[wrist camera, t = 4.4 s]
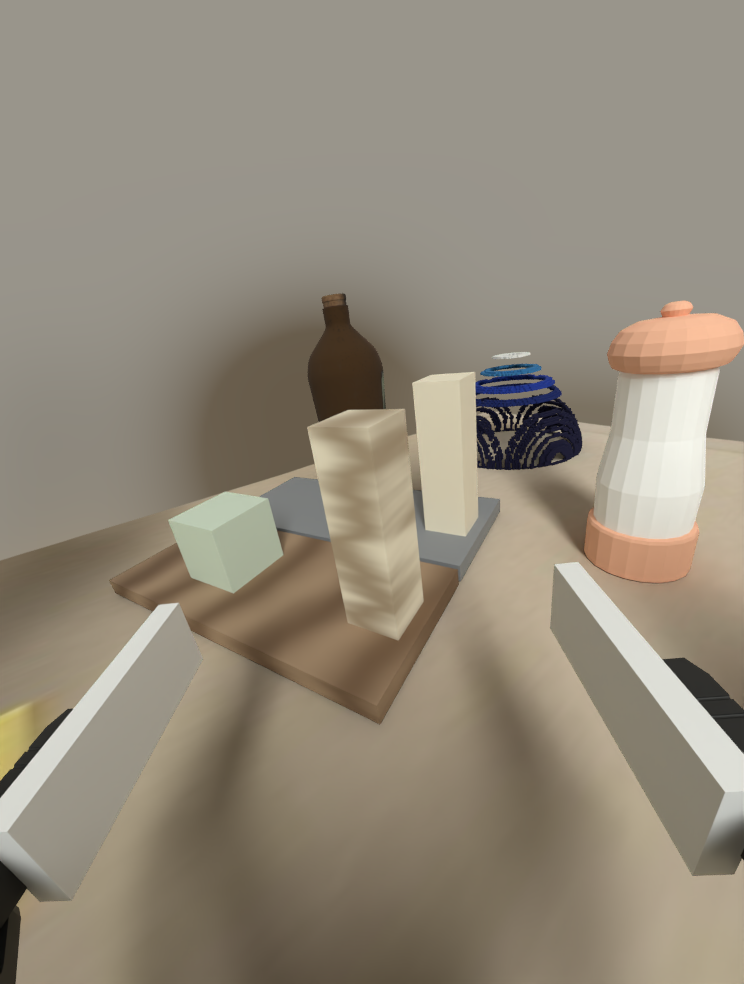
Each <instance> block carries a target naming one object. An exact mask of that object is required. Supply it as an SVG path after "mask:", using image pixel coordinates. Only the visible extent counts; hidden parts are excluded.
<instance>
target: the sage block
mask: <svg viewBox="0 0 744 984" xmlns="http://www.w3.org/2000/svg"><path fill="white" fill-rule="evenodd" d="M168 522H169V524H170V527H171V529H172V532H173V534H174V537H175V539H176V542H177V544H178V547H179V549H180V552H181V554H182V557H183V559H184V562H185V564H186V567H187V569H188V572H189V574H190V577H191V578H193V579H196V580H199V581H202V582H204V583H207V584H210V585H212V586H215V587H218V588H220V589H223V590H226V591H228V592H231V593H235V592H236V591H237V590H239V589H240V588H241V587H243V586H244V585H245V584H247V583H248V582H249V581H250V580H252V579H253V578H254V577H256V576H257V575H258V574H260V573H261V572H262V571H263V570H265V569H266V568H267V567H269V566H270V565H271V564H273V563H274V562H275V561H276V560H278V559H279V558H280V557H282V556H283V551H282V548H281V544H280V540H279V536H278V533H277V529H276V525H275V522H274V518H273V514H272V511H271V507H270V503H269V500H268V498H262V497H256V496H249V495H243V494H236V493H230V492H224V493H222V494H219V495H217V496H215V497H213V498H211V499H209V500H207V501H205V502H203V503H201V504H199V505H197V506H195V507H193V508H191V509H189V510H187V511H185V512H183V513H181V514H179V515H177V516H175V517H173V518H171V519H169V520H168Z"/></svg>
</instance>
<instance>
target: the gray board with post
mask: <svg viewBox="0 0 744 984" xmlns="http://www.w3.org/2000/svg"><path fill="white" fill-rule="evenodd" d="M413 393H414V405H415V415H416V416H415V417H416V427H417V439H418V451H419V462H420V473H421V485H422V491H419V490H413V498H414V508H415V518H416V528H417V539H418V549H419V559H420V561H421V562H425V563H430V564H435V565H439V566H444V567H449V568H453V569H458V581H461V580H462V578H463V576H464V574H465V573H466V571H467V569H468V567H469V565H470V564H471V562H472V560H473V558H474V557H475V555H476V553H477V551H478V549H479V548H480V546H481V544H482V542H483V541H484V539H485V537H486V535H487V533H488V532H489V530H490V528H491V526H492V525H493V523H494V521H495V519H496V517H497V516H498V514H499V512H500V499H494V498H484V497H478V478H477V433H476V389H475V372H469V373H455V374H438V375H430V376H428V377H426V378H423V379H421V380H419V381H416V382H414V383H413ZM260 497H262V498H268V500H269V503H270V507H271V511H272V514H273V518H274V522H275V525H276V529H277V530H278V531H282V532H287V533H291V534H296V535H301V536H305V537H310V538H315V539H319V540H324V541H328V542H331V539H330V534H329V530H328V525H327V520H326V515H325V510H324V505H323V501H322V496H321V491H320V486H319V481H318V480H317V479H308V478H299V477H294V478H292V479H290V480H288V481H287V482H285V483H283V484H281V485H279V486H278V487H276V488H274V489H272V490H270V491H269V492H267V493H265V494H263V495H261V496H260Z"/></svg>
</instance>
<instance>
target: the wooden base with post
mask: <svg viewBox="0 0 744 984" xmlns="http://www.w3.org/2000/svg"><path fill="white" fill-rule="evenodd" d="M307 428H308V433H309V438H310V443H311V447H312V452H313V457H314V462H315V467H316V472H317V476H318V481H319V486H320V491H321V496H322V501H323V505H324V510H325V515H326V520H327V525H328V530H329V534H330V539H331V542H328V541H324V540H319V539H315V538H310V537H305V536H301V535H296V534H291V533H287V532H282V531H278V530H277V533H278V536H279V540H280V544H281V548H282V551H283V556H282V557H280V558H279V559H278V560H276V561H275V562H274V563H273V564H271V565H270V566H269V567H267V568H266V569H265V570H263V571H262V572H261V573H260V574H258V575H257V576H256V577H254V578H253V579H252V580H250V581H249V582H248V583H247V584H245V585H244V586H243V587H241V588H240V589H239V590H237V591H236V592H235V593H231V592H228V591H226V590H223V589H220V588H218V587H215V586H212V585H210V584H207V583H204V582H202V581H199V580H196V579H193V578H191V577H190V574H189V572H188V569H187V567H186V564H185V562H184V559H183V557H182V554H181V552H180V549H179V547H178V544H177V543H175V544H173V545H172V546H170V547H168V548H166V549H164V550H163V551H161V552H159V553H157V554H155V555H154V556H152V557H150V558H148V559H146V560H145V561H143V562H141V563H139V564H137V565H136V566H134V567H132V568H130V569H128V570H127V571H125V572H123V573H121V574H119V575H118V576H116V577H114V578H112V579H110V580H109V581H110V583H111V585H112V587H113V589H114V591H115V593H117V594H119V595H121V596H123V597H125V598H127V599H129V600H131V601H133V602H135V603H137V604H139V605H141V606H143V607H145V608H147V609H149V610H151V611H154V610H155V609H156V607H157V606H158V605H161V604H171V603H179V604H180V607H181V609H182V611H183V614H184V616H185V618H186V621H187V623H188V625H189V628H190V630H191V631H193V632H195V633H197V634H199V635H201V636H203V637H205V638H207V639H209V640H211V641H213V642H215V643H217V644H219V645H222V646H224V647H226V648H228V649H230V650H232V651H234V652H236V653H238V654H240V655H242V656H244V657H246V658H248V659H250V660H252V661H254V662H256V663H258V664H260V665H262V666H264V667H266V668H268V669H270V670H272V671H274V672H276V673H278V674H280V675H282V676H284V677H286V678H288V679H290V680H292V681H294V682H296V683H298V684H300V685H302V686H304V687H306V688H308V689H310V690H312V691H314V692H316V693H318V694H320V695H322V696H324V697H326V698H328V699H330V700H332V701H334V702H336V703H338V704H340V705H342V706H344V707H346V708H348V709H350V710H352V711H354V712H356V713H358V714H360V715H362V716H364V717H366V718H368V719H370V720H372V721H374V722H376V723H378V724H381V722H382V720H383V718H384V717H385V715H386V713H387V711H388V709H389V708H390V706H391V704H392V702H393V701H394V699H395V697H396V695H397V693H398V692H399V690H400V688H401V686H402V685H403V683H404V681H405V679H406V677H407V676H408V674H409V672H410V670H411V669H412V667H413V665H414V663H415V661H416V660H417V658H418V656H419V654H420V653H421V651H422V649H423V647H424V645H425V644H426V642H427V640H428V638H429V637H430V635H431V633H432V631H433V629H434V628H435V626H436V624H437V622H438V621H439V619H440V617H441V615H442V613H443V612H444V610H445V608H446V606H447V605H448V603H449V601H450V599H451V597H452V596H453V594H454V592H455V590H456V589H457V587H458V585H459V581H458V569H453V568H449V567H444V566H439V565H435V564H430V563H425V562H421V561H420V559H419V549H418V539H417V528H416V518H415V508H414V498H413V488H412V478H411V468H410V458H409V448H408V437H407V427H406V417H405V409H374V410H347V411H344V412H342V413H340V414H337V415H335V416H333V417H330V418H328V419H325V420H323V421H321V422H318V423H316V424H313V425H311V426H309V427H307Z"/></svg>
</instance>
